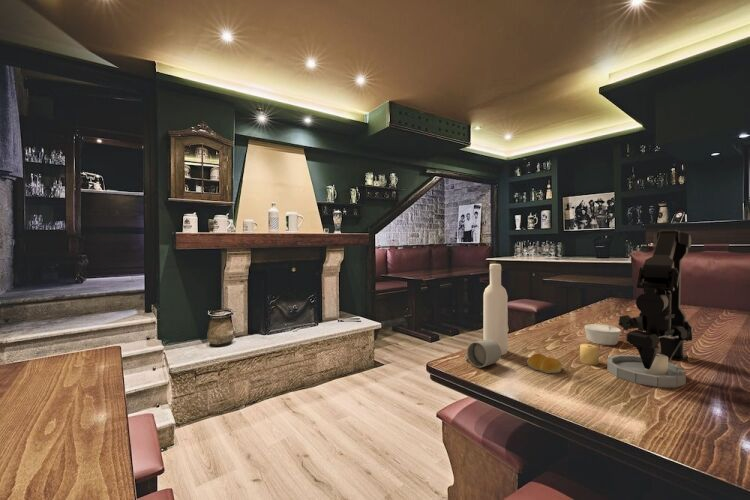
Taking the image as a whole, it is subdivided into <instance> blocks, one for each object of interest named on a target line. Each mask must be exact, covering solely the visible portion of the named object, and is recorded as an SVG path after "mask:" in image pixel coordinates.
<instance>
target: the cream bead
mask: <svg viewBox="0 0 750 500" xmlns="http://www.w3.org/2000/svg"><path fill="white" fill-rule="evenodd" d="M645 373H647V374H651V375H664V376H668V357H667V356H666V355H663V354H658V353H657V354H656V356H655V359H654V361H653V363H652V366H651V368H650V369H646V368H645Z"/></svg>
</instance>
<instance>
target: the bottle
mask: <svg viewBox="0 0 750 500" xmlns="http://www.w3.org/2000/svg"><path fill="white" fill-rule="evenodd" d="M502 269H503V267H502V265H501V264H500V263H490V264H489V284H488V285H487V287H485V289H484V291H483V310H482V311H483V313H482V314H483V321H482V322H483V325H482V326H483V327H482V328H483V334H482V335H483V340H493V341H495V342H496V343H497V344H498V345H499V346H500V349H501V356H503V355H506V354H508V350H509V343H508V341H509V340H508V335H509V334H508V333H509V332H508V325H509V324H508V322H509V321H508V316H509V315H508V311H509V310H508V307H509V305H508V298H509V297H508V293H507V290H506V288H505V287H504V286H503V285H502Z"/></svg>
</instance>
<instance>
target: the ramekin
mask: <svg viewBox="0 0 750 500" xmlns="http://www.w3.org/2000/svg"><path fill="white" fill-rule="evenodd" d="M584 330H585V335H586V339H587V340H588V341H589V342H590V343H594V344H595V345H596V344H597V345H603V346H615V345H617V344H618V342H619V339H620V335H621V333H622V330H621V329H620V328H618V327H616V326H613V325H607V324H598V323H591V324H585V325H584Z"/></svg>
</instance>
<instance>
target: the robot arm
mask: <svg viewBox="0 0 750 500" xmlns="http://www.w3.org/2000/svg"><path fill="white" fill-rule="evenodd" d="M653 237H654V238H653V246H654V250H653V253H652V256H651V257H648V258H647V259H645V260H644V262H643V263H642V266H640V267H639V271H638V277H637V282H636V289H641V290H642V289H643V293H641V294H640V295H638V297H636V300H635V304H636V305H635V306H636V308H637V309H638V311H640V312H639V315H638V316H632V317H631V316H630V315H629V314H627V315H622V316H621V315H620V316H619V317H618V326H620V327H621V328H622V329H623V331H628V330H631V331H629V332H627V333H626V334H625V341H626V343H628V344H630V345H631V346H634V347H635V348H636V350H637V351H638V354H639V356H640V357H641V359H642V362H643V365H644V368H646V369H650V368H651V366H652V363H653V361H654V359H655V356H656V354H657V353H658V354H663V355H666V356H667V357H668V362H669V363H670V361H671V359H672V360H675V361H681V360H684V359H689V355H688V354H687V355H686V354H684V342H685V341H686V342H689V341H691V342H692V341H693V329H692V328H693V327H692V326H691V325H690V321H688V320H687V319H688V318H687V314H686V312H685V311H684V310H683V308H682V306H681V292H682V291H681V289H682V287H681V286H682V285H681V283H682V261H683V259H684V258H685V257H686V256H687V255H688V253H689V249H690V248H691V246H692V236H691V235H690V233H687V232H681V231H680V230H677V229H666V230H665V229H661V230H658V231H657V232H656V233H654V235H653ZM632 329H633V330H632ZM634 329H635V330H634Z"/></svg>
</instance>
